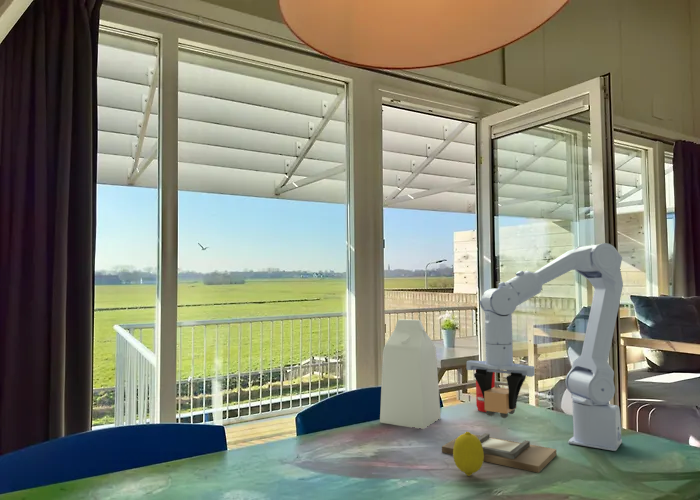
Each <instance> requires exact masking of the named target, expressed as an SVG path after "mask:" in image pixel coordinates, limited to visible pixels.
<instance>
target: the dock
mask: <svg viewBox="0 0 700 500" xmlns="http://www.w3.org/2000/svg"><path fill="white" fill-rule="evenodd" d="M465 433H466V432H464V433H463V434H465ZM472 434H473V435H475V436H476V437H477V438H478V439H479V440H480V442H481V444H482V447H483V452H484V460H483V462H486V463H491V464H496V465H500V466H504V467H505V466H506V467H510V468H515V469H518V470H519V469H520V470H523V471H529V472H532V473H533V472H534V473H540V472H541V471H542V470H544V468H545V467H546V466H547V465H548V464H549V463H550V462H552V461H553V459H554V458H555V457H556V456H557V449H556V448H552V447H546V446H540V445H536V444H531V441H530V440H523V441H522V442H520V441H519V442H518V441H514V440H509V439H507V440H506V439H502V438H496V437H491V436H490V433H483V434H481V435H479V434H475V433H472ZM458 437H459V436H458ZM458 437H456V438H454V439H452V440H451V441H449V442H447V443H445V444H444V445H442V446H441V453H444V454H449V455H453V448H454V444H455V441H456V439H457V438H458Z"/></svg>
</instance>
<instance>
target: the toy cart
mask: <svg viewBox="0 0 700 500" xmlns="http://www.w3.org/2000/svg"><path fill="white" fill-rule="evenodd" d="M499 386H505V387H499ZM506 387H507V388H506ZM484 403H485V410H486V412H485V413H486V414H487V416H490V417H492V416H494V415H495V413H499V415H500V417H501V418H503V419H507V418H508V416H509V415H514V413H515V412H516V410H515V409H517V407H516V408H515V409H513V410H512V409H509V389H508V383H507V381H506V382H505V381H497V380H495V387H494V388H491V389H489V390H487V391H484Z"/></svg>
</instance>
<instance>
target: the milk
mask: <svg viewBox="0 0 700 500" xmlns="http://www.w3.org/2000/svg"><path fill="white" fill-rule="evenodd" d="M436 348H437V347H436V346H435V343H434V342H433V340H432V339H431V337H430V335H428V333H427V332H426V331H425V327H424V325H423V323H422V320H421V319H407V318H406V319H405V318H404V319H402V318H401V319H397V321H396V324H395V327H394V330H393V331H392V333H391V334H390V336H389V338H388V340H387V341H386V343H385V344H384V347H383V348H382V349H383V350H382V364H381V387H380V388H381V389H380V412H379V413H380V414H379V423H381V424H387V425H394V426H400V427H407V428H412V427H415V428H414V429H419V428H421V429H422V430H425V429H426V428H428V427H430V426H431V425H432V424H434V423H436V422H437V421H439V420H440V419H441V405H440V404H441V403H440V388H439V377H438V375H439V373H438V362H437V361H438V360H437V359H438V358H437V349H436ZM438 419H439V420H438ZM435 421H436V422H435ZM430 424H431V425H430ZM427 426H428V427H427ZM421 429H420V430H421Z"/></svg>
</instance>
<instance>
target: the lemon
mask: <svg viewBox="0 0 700 500" xmlns="http://www.w3.org/2000/svg"><path fill="white" fill-rule="evenodd" d="M464 433H465V434H464ZM464 433H462V434H460V435H459V436H458V438H457V437H456V438H457V439H456V438H455V439H456V441H455V444H454V448H453V454H452V456H453V462H454V463H455V466H456V467H457V468H458V470H460V471H461V472H463V473H465V475H466V476H467V477H470V476H472V475H473V474H475V473H478V471H480V469H481V468H482V466H483V463H484V461H483V460H484V452H483V447H482V444H481V442H480V440H479V439H478V438H477V437H476V436H475V435H476V434H475V435H473V434H474V433H471V432H470V431H466V432H464Z"/></svg>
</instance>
